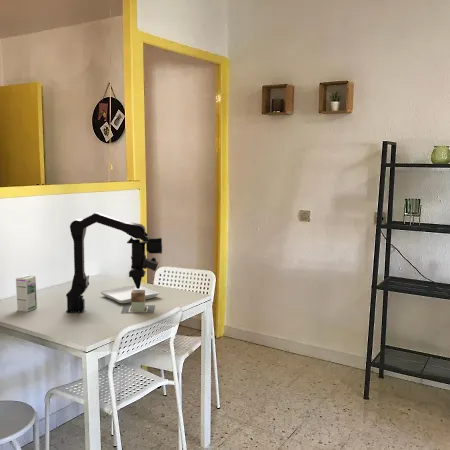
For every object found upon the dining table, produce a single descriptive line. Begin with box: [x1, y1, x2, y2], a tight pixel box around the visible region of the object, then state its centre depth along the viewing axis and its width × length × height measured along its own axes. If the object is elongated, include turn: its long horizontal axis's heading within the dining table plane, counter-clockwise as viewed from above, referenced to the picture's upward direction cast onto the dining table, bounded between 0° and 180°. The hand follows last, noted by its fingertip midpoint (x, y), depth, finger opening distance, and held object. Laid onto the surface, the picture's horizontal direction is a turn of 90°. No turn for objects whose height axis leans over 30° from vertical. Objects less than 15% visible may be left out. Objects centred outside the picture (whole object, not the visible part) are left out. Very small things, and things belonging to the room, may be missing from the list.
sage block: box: [130, 300, 146, 311], centre depth 212 cm, size 6×6×4 cm
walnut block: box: [130, 290, 146, 303], centre depth 212 cm, size 6×6×4 cm
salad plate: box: [99, 284, 160, 305], centre depth 232 cm, size 21×21×3 cm
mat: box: [120, 304, 156, 315], centre depth 212 cm, size 14×12×1 cm
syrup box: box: [15, 274, 38, 313], centre depth 209 cm, size 6×6×14 cm
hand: (138, 288), depth 211 cm, fingers closed
